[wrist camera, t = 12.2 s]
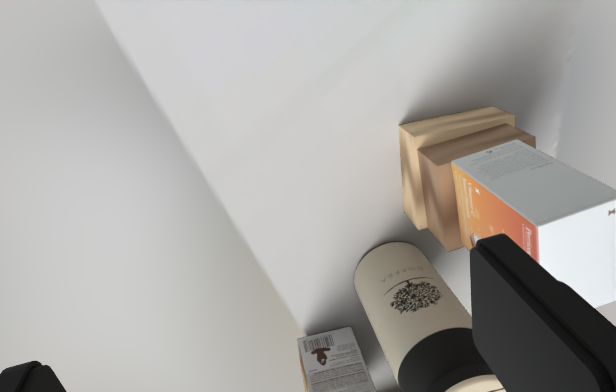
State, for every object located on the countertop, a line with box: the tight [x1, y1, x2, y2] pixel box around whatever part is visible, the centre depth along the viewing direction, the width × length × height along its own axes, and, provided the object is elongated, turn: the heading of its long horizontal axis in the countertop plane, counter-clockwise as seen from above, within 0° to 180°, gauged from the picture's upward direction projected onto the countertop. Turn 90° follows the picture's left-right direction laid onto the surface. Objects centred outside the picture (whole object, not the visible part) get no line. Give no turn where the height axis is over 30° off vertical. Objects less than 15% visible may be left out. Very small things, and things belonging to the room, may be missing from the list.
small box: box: [451, 140, 616, 308], centre depth 31 cm, size 8×6×10 cm
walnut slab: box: [417, 123, 536, 252], centre depth 38 cm, size 8×8×4 cm
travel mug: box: [354, 242, 506, 392], centre depth 39 cm, size 8×8×18 cm
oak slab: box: [398, 106, 515, 230], centre depth 42 cm, size 9×9×4 cm
